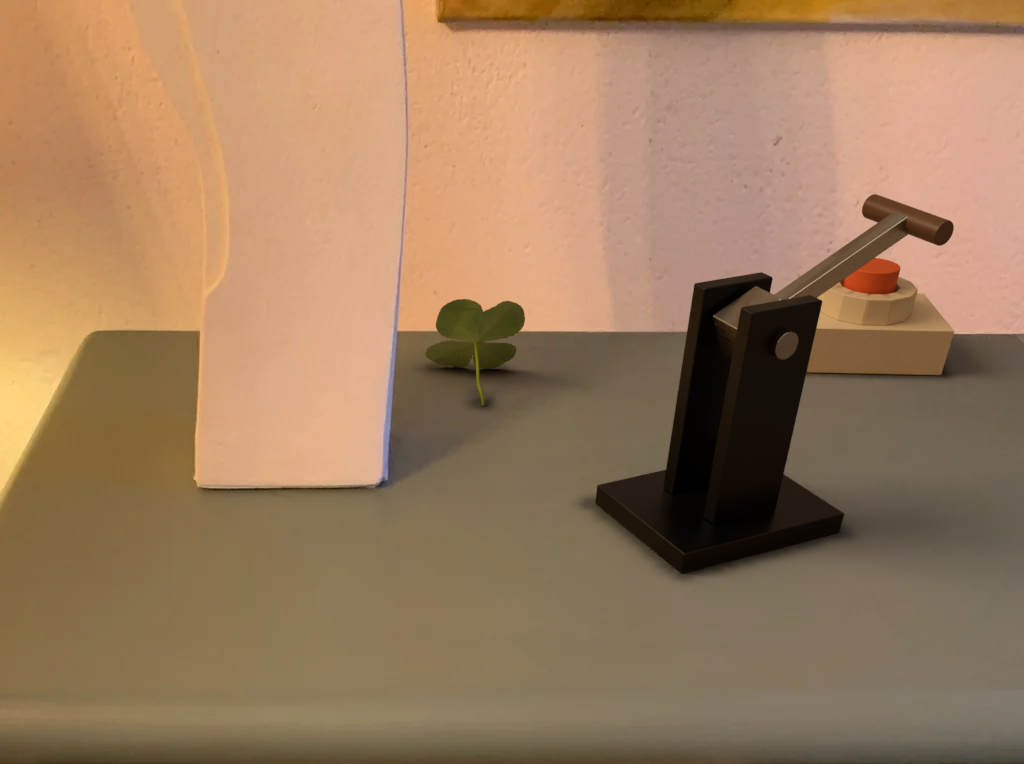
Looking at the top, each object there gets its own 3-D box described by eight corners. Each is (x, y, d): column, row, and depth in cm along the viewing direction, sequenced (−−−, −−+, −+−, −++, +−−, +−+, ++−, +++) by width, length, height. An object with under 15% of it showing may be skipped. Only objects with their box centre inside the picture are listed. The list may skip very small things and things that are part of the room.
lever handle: (881, 220, 63) (877, 178, 61) (955, 248, 60) (953, 204, 58) (702, 344, 63) (693, 305, 61) (765, 379, 59) (757, 340, 58)
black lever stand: (744, 468, 73) (787, 253, 64) (839, 532, 66) (901, 303, 58) (594, 503, 69) (619, 280, 60) (681, 573, 63) (722, 336, 54)
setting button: (887, 282, 85) (893, 257, 84) (899, 299, 83) (906, 273, 81) (838, 281, 85) (843, 256, 84) (849, 298, 83) (855, 272, 82)
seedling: (468, 454, 85) (463, 379, 87) (556, 406, 80) (548, 327, 82) (402, 414, 80) (397, 335, 82) (490, 359, 75) (484, 276, 77)
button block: (912, 335, 90) (931, 268, 87) (941, 375, 84) (963, 304, 81) (770, 332, 90) (783, 265, 87) (789, 372, 84) (804, 301, 81)
